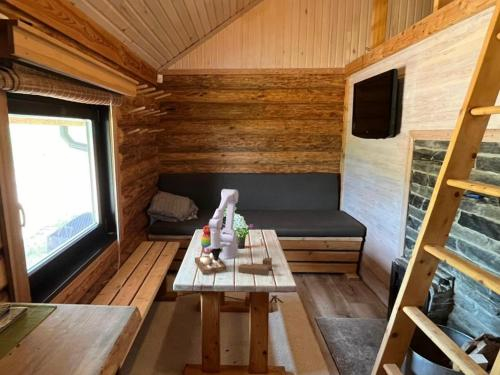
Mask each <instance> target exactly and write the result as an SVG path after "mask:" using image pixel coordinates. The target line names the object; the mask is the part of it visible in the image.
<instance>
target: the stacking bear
mask: <svg viewBox="0 0 500 375" xmlns="http://www.w3.org/2000/svg"><path fill="white" fill-rule="evenodd" d="M202 231H203V234H202V235H201V240H200V243H201V244H200V245H201V252H202V253H203V254H207V255H210V253H212V252H211V251H208V252H205V249H204V248H206V247H208V246H210V245H211V231H210V228H209V224H208V225H205V226H204V227H203V228H202Z"/></svg>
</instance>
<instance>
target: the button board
mask: <svg viewBox="0 0 500 375" xmlns="http://www.w3.org/2000/svg"><path fill="white" fill-rule="evenodd" d="M201 257H206V258H210V255H204V256H198V257H194V263H195V265H196V266H197V268H198V269H199V271H200V272H201V274H202V275H203V276H206V275H211V274H217V273H222V272H227V271H228V266H227V265H226V263H225V262H224V261H223V260H222V259H221V258H220V257H219V258H218V259H219V263H217V264H213V260H210V265H206V266H204V265H203V262H200V258H201Z"/></svg>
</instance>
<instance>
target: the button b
mask: <svg viewBox="0 0 500 375" xmlns="http://www.w3.org/2000/svg"><path fill="white" fill-rule="evenodd" d="M203 265H204V266H206V265H210V258H203Z"/></svg>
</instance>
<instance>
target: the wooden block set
mask: <svg viewBox="0 0 500 375" xmlns="http://www.w3.org/2000/svg"><path fill="white" fill-rule="evenodd" d="M272 266H273V257H264V258H263V259H262V263H253V262H251V263H249V264H248V263H242V264H239V265H238V267H237V268H238V269H237V270H238V272H237V273H240V274H241V273H242V274H249V275H256V276H264V277H267V276H268V275H269V273H270V272H269V271H272V268H273V267H272Z"/></svg>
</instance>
